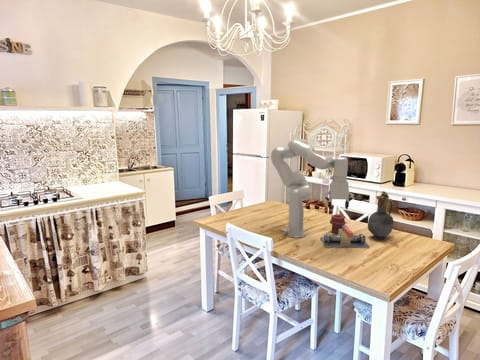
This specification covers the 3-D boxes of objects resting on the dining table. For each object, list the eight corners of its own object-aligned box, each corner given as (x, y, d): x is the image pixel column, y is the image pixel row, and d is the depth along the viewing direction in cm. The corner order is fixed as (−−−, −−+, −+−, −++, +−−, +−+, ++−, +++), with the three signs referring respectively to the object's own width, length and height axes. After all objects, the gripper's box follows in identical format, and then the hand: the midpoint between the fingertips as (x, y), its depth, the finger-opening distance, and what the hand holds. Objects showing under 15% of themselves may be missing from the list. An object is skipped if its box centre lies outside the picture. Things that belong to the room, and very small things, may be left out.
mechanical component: (344, 230, 217) (345, 235, 208) (328, 229, 219) (329, 234, 210) (345, 213, 215) (346, 217, 205) (329, 212, 217) (330, 216, 207)
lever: (341, 229, 196) (341, 224, 195) (346, 229, 196) (347, 225, 195) (347, 237, 182) (348, 233, 182) (353, 237, 182) (353, 233, 181)
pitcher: (364, 237, 204) (367, 192, 199) (381, 231, 215) (385, 188, 209) (380, 243, 195) (384, 195, 190) (397, 236, 206) (401, 191, 200)
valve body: (324, 247, 190) (325, 234, 188) (320, 238, 204) (320, 226, 202) (369, 248, 188) (370, 235, 187) (362, 239, 202) (363, 227, 200)
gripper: (325, 180, 177) (324, 210, 181) (357, 180, 177) (355, 210, 180) (322, 177, 185) (321, 206, 188) (353, 177, 184) (351, 206, 187)
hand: (338, 208), depth 184 cm, fingers open, 9 cm apart
